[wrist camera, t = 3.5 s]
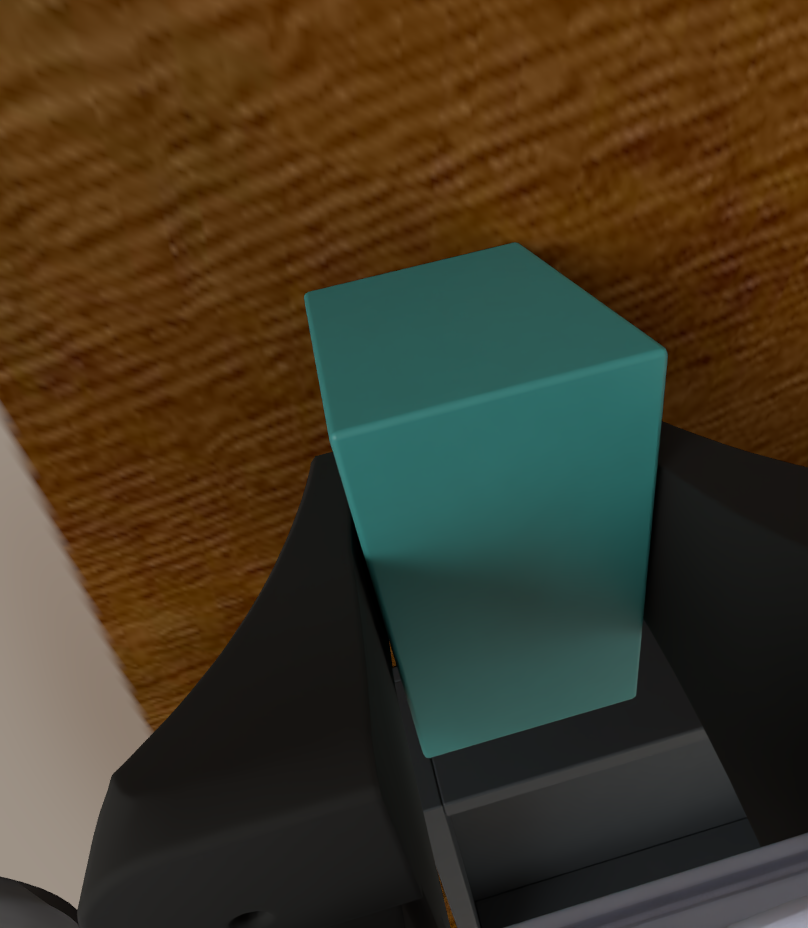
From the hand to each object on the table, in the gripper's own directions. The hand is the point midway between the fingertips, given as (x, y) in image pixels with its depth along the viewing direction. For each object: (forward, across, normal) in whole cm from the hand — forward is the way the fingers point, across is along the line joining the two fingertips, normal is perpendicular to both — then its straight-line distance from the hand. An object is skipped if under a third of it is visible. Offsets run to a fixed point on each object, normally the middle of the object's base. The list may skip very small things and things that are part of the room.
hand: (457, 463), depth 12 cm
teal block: (+1, 0, 0) cm, 1 cm away
